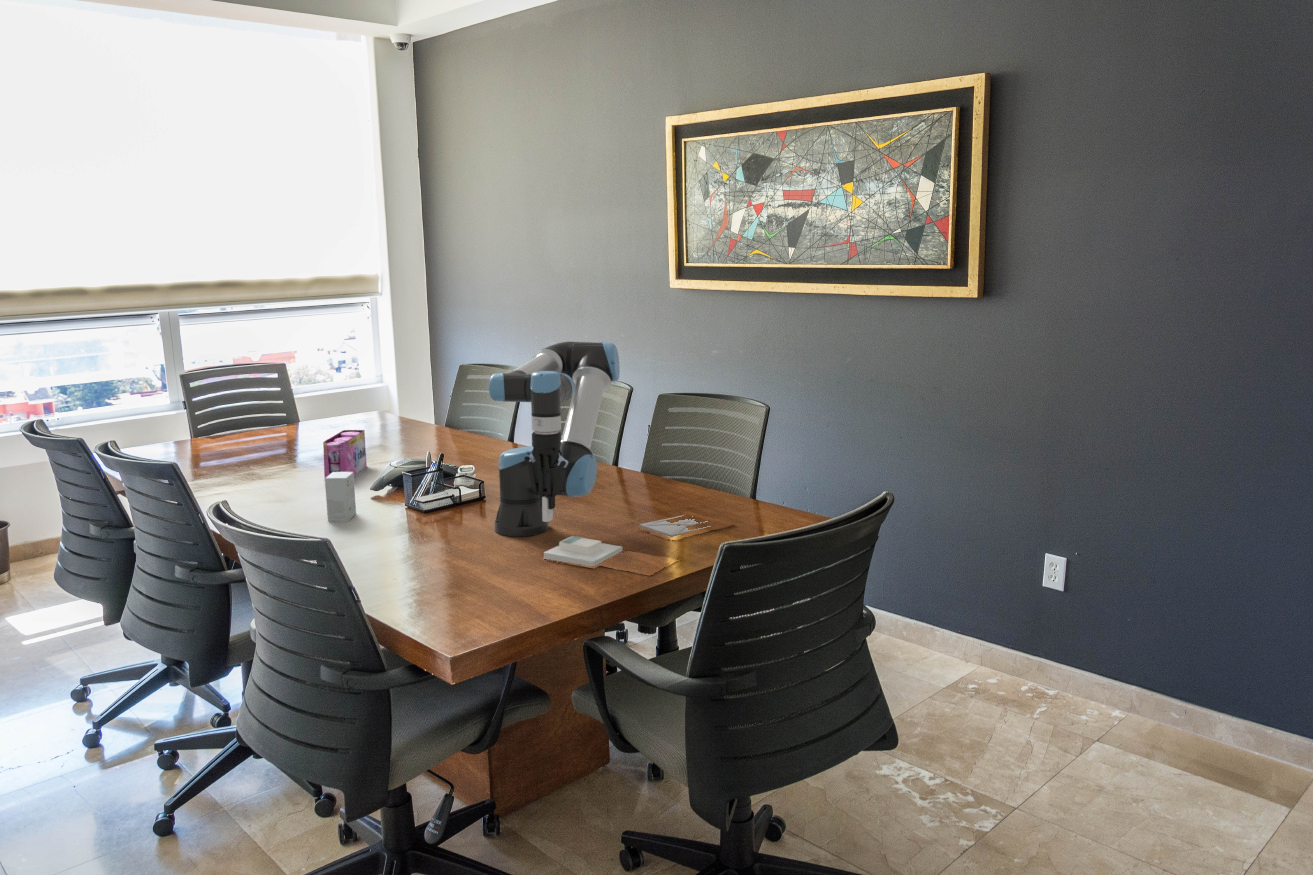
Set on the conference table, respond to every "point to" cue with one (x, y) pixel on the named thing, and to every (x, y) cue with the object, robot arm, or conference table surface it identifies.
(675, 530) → the envelope
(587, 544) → the card
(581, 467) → the robot arm
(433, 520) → the conference table surface
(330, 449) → the gum box
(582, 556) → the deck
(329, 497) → the small box
